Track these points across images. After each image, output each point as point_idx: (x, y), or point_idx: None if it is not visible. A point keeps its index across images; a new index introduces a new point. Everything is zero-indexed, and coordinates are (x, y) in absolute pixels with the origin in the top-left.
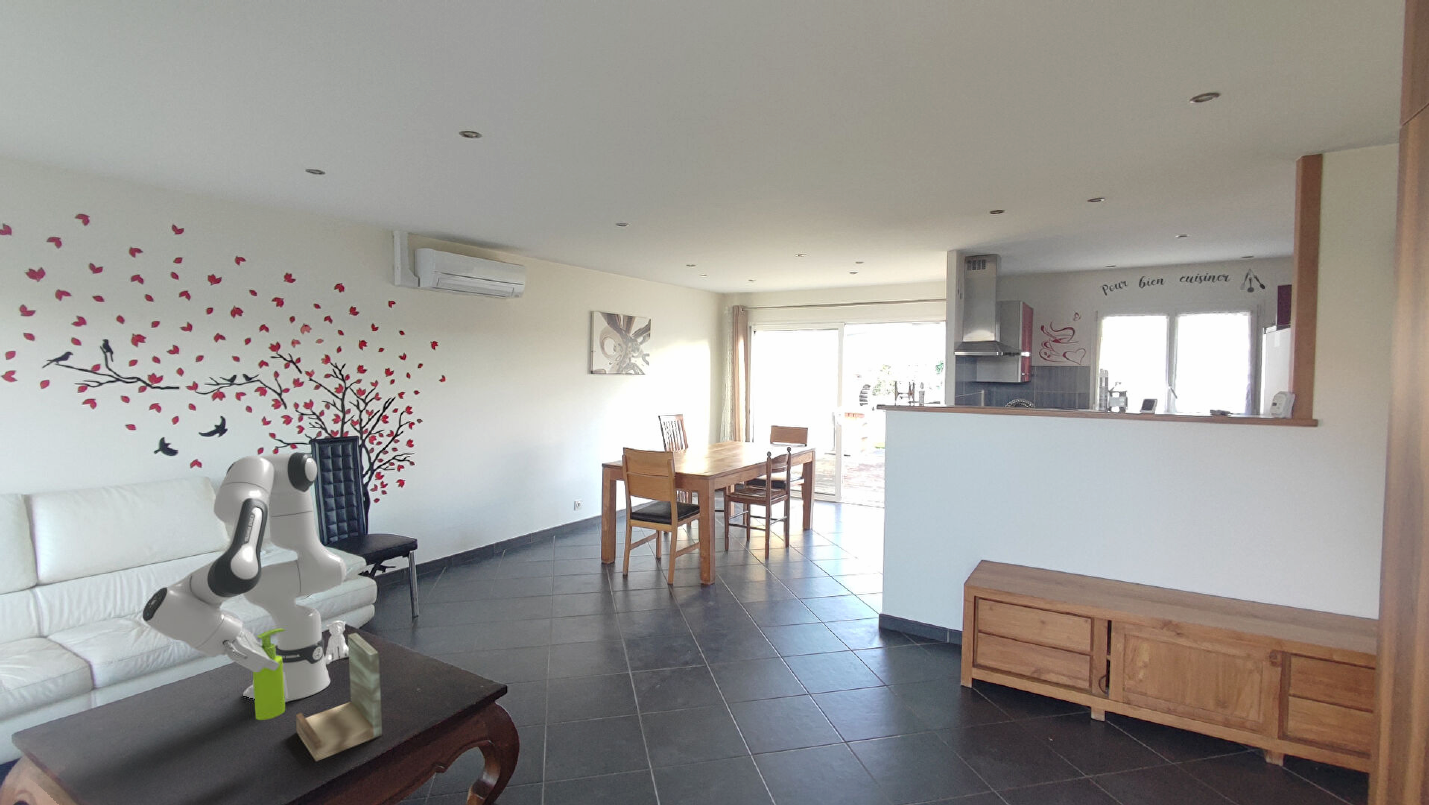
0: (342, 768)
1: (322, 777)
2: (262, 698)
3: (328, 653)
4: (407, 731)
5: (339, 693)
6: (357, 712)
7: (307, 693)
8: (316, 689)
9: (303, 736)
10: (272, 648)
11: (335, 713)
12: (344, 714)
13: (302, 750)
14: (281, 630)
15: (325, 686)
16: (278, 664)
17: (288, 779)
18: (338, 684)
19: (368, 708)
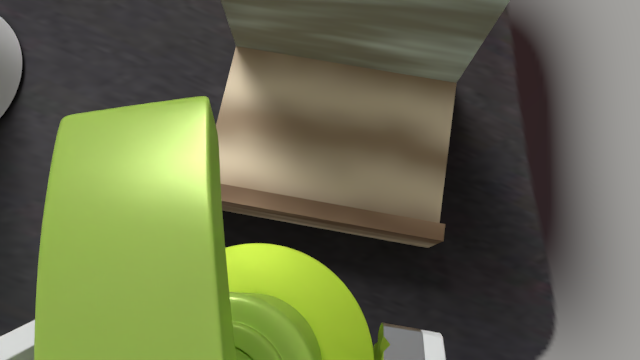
0: (527, 221)
1: (526, 274)
2: None
3: None
4: (491, 32)
5: (92, 30)
6: (324, 67)
7: (8, 86)
8: (12, 59)
9: (289, 219)
10: (311, 354)
11: (266, 107)
12: (299, 94)
13: (328, 243)
14: (216, 162)
15: (12, 34)
16: (441, 341)
17: (453, 336)
18: (31, 5)
19: (426, 52)
